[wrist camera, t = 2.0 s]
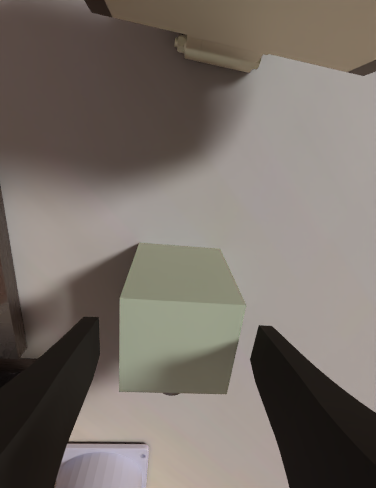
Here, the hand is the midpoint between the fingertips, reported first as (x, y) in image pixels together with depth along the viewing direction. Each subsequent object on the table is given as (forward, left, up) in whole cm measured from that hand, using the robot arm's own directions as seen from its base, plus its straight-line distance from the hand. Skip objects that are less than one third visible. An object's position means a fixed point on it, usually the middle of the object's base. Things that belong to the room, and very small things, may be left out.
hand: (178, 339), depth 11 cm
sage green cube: (0, 0, -5) cm, 5 cm away
